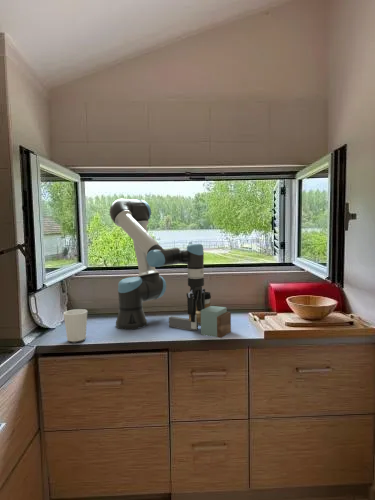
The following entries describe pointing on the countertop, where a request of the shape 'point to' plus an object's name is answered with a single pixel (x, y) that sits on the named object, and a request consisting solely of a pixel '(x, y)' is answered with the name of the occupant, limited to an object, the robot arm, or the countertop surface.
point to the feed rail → (181, 323)
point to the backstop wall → (223, 324)
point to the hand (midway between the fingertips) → (196, 327)
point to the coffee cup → (206, 300)
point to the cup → (76, 325)
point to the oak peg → (197, 316)
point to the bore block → (210, 320)
